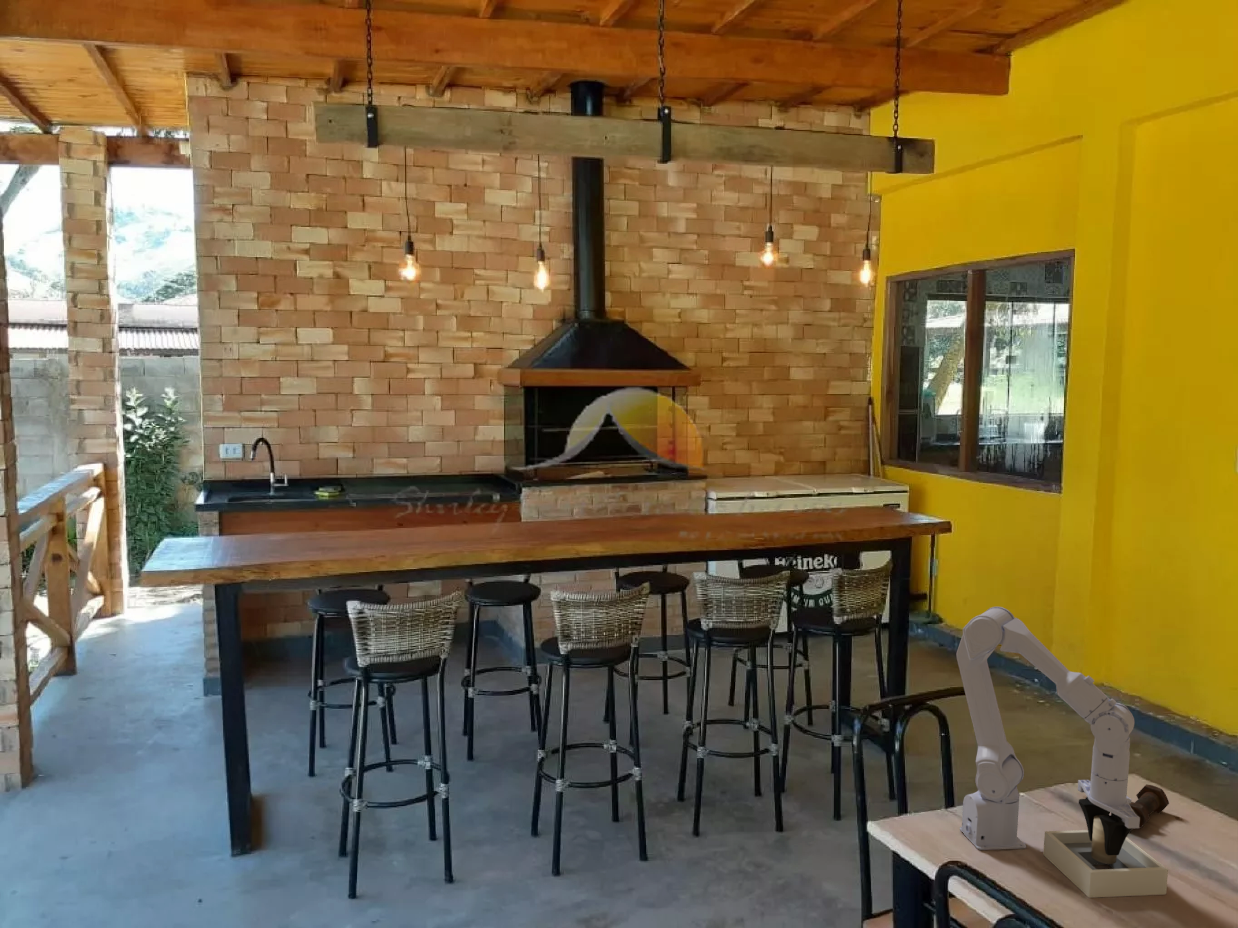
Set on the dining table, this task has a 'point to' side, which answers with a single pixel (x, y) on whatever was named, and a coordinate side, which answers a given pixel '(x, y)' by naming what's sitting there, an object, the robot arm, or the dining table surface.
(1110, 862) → the peg
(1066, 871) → the box
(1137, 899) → the dining table surface
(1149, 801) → the bolt
